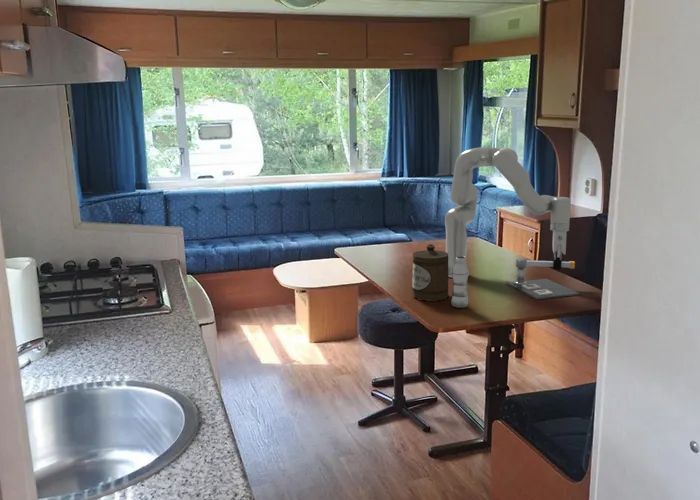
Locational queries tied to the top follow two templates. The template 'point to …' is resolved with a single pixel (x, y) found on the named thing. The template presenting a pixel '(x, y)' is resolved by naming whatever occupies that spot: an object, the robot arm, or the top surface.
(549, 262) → the bar
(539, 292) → the label plate
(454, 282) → the plastic bottle
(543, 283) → the board
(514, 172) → the robot arm
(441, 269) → the wooden container
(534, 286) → the label plate
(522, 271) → the grey metal rounded piece
